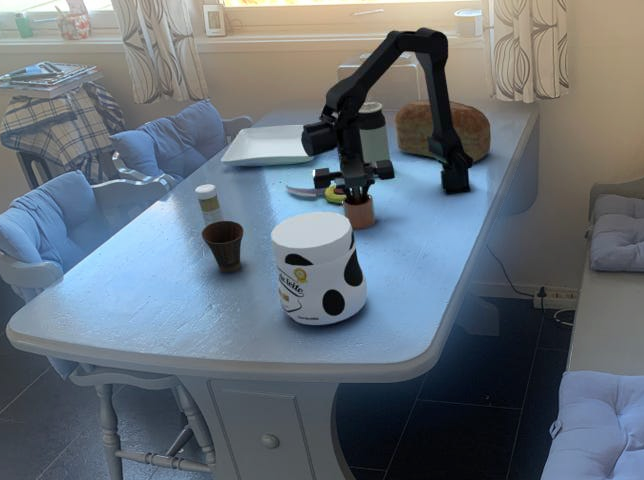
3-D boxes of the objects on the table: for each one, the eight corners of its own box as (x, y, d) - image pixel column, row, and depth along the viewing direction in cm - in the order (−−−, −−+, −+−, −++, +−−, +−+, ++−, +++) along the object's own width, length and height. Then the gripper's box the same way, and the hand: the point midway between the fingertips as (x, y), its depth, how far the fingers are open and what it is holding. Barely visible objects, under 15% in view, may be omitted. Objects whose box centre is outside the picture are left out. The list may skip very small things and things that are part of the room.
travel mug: (396, 172, 208) (389, 106, 197) (371, 180, 205) (362, 113, 194) (382, 163, 213) (373, 99, 203) (357, 171, 210) (347, 106, 199)
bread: (414, 140, 227) (409, 91, 218) (497, 152, 214) (495, 101, 206) (391, 154, 219) (385, 104, 210) (476, 168, 206) (473, 115, 198)
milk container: (267, 327, 149) (246, 245, 139) (310, 283, 162) (294, 205, 151) (345, 340, 144) (330, 256, 133) (383, 293, 156) (372, 213, 146)
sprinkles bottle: (226, 234, 184) (212, 182, 176) (231, 241, 181) (216, 188, 173) (207, 239, 183) (193, 186, 175) (211, 246, 179) (196, 193, 171)
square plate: (317, 167, 215) (314, 154, 212) (222, 173, 216) (218, 160, 214) (329, 133, 236) (327, 121, 234) (243, 139, 238) (240, 127, 235)
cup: (233, 283, 164) (221, 242, 158) (204, 274, 168) (191, 234, 162) (261, 265, 170) (251, 224, 164) (232, 256, 174) (221, 217, 168)
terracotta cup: (373, 213, 188) (370, 191, 184) (376, 226, 182) (373, 203, 178) (344, 217, 187) (341, 195, 183) (346, 230, 181) (343, 207, 177)
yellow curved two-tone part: (275, 198, 199) (360, 207, 191) (273, 189, 197) (359, 198, 189) (290, 186, 205) (374, 194, 197) (288, 177, 203) (372, 185, 195)
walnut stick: (363, 215, 184) (359, 184, 180) (364, 218, 183) (360, 187, 178) (355, 216, 184) (350, 185, 179) (356, 219, 183) (351, 188, 178)
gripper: (309, 163, 165) (321, 227, 175) (393, 151, 167) (401, 216, 177) (307, 145, 174) (319, 207, 184) (388, 134, 176) (395, 197, 185)
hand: (358, 207), depth 182 cm, fingers closed on walnut stick, 2 cm apart
